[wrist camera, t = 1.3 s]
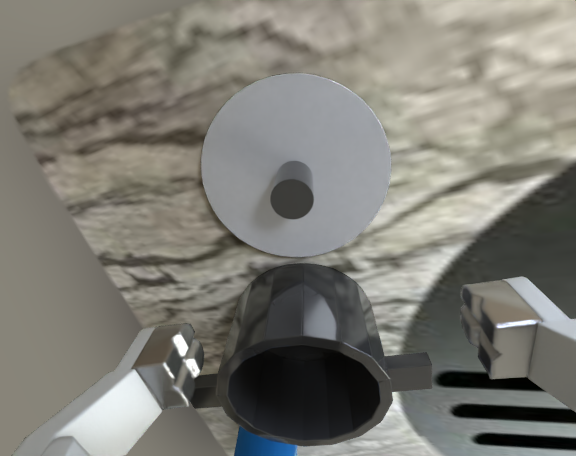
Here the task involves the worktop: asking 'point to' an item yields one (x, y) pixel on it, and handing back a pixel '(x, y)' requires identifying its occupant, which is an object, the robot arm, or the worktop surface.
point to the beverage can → (261, 446)
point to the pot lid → (296, 165)
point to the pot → (307, 360)
